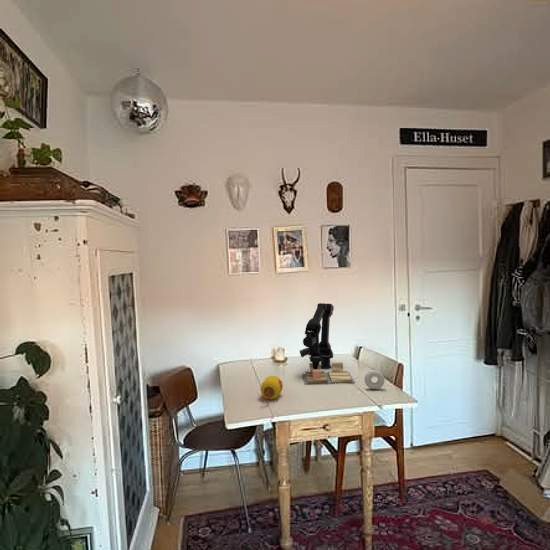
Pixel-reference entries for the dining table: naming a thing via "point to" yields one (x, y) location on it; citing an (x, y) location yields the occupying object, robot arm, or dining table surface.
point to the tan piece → (339, 373)
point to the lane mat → (327, 379)
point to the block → (316, 373)
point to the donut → (374, 374)
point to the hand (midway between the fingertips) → (314, 370)
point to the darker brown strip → (310, 375)
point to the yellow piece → (271, 387)
